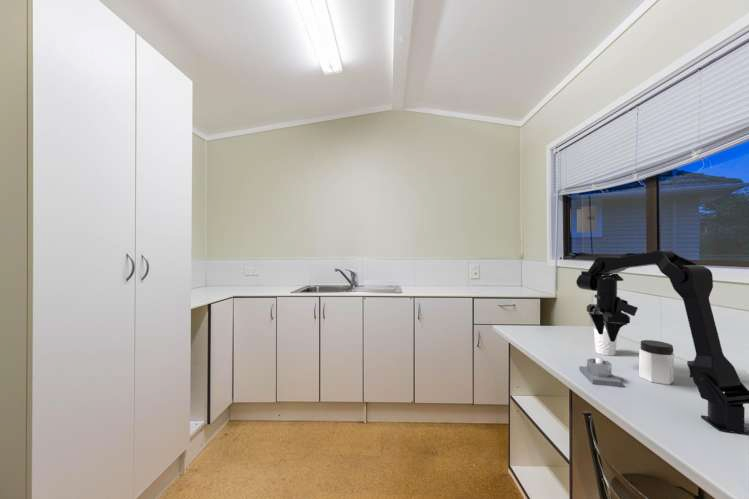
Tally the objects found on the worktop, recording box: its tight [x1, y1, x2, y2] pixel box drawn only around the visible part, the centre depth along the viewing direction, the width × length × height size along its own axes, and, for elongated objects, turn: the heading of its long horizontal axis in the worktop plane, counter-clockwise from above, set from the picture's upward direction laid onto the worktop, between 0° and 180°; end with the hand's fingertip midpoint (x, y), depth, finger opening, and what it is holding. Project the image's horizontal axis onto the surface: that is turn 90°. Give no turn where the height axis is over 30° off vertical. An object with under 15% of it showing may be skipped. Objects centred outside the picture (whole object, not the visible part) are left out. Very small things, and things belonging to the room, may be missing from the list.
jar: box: [638, 339, 675, 386], centre depth 107 cm, size 9×8×12 cm
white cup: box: [593, 326, 618, 357], centre depth 133 cm, size 8×8×10 cm
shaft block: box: [578, 357, 623, 388], centre depth 108 cm, size 12×8×6 cm, turn 165°
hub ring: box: [586, 358, 613, 378], centre depth 108 cm, size 6×6×4 cm
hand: (606, 337), depth 111 cm, fingers open, 9 cm apart
